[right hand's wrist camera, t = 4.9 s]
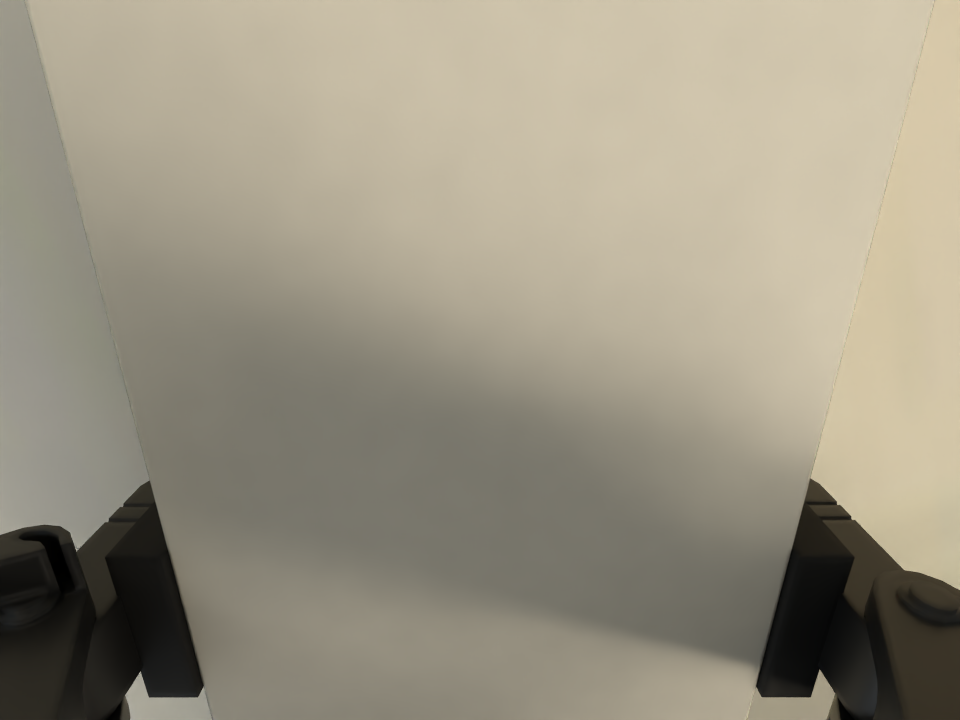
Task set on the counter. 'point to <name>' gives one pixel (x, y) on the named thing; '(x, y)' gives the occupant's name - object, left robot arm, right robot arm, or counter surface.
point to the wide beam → (479, 328)
